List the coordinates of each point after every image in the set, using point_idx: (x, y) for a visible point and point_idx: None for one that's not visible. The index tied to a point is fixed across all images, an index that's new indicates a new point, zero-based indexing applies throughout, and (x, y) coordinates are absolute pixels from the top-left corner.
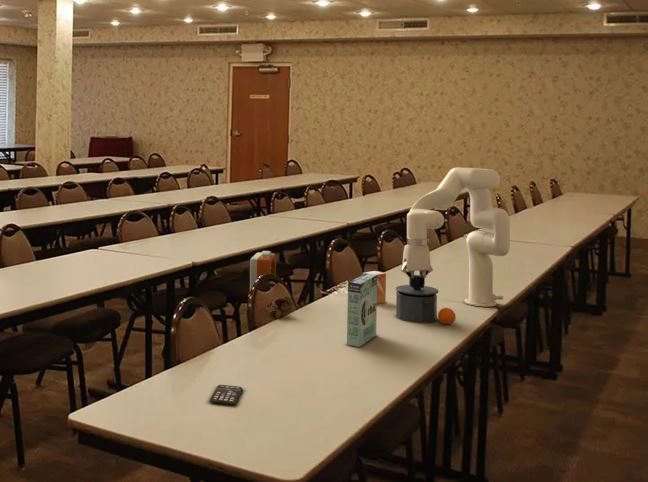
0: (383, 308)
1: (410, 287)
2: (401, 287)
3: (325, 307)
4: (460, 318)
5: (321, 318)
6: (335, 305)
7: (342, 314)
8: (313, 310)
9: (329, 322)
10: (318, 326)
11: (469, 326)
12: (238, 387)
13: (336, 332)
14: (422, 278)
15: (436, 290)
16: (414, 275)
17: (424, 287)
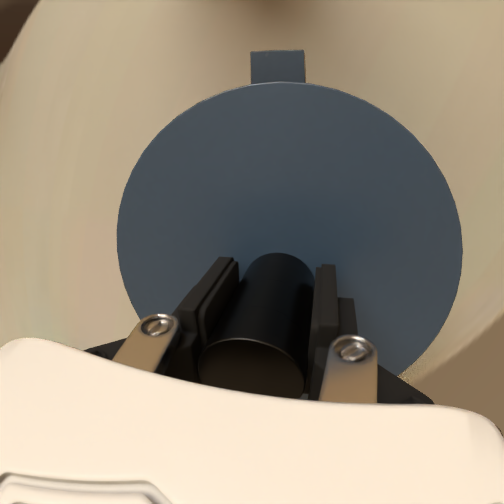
0: (215, 17)
1: (251, 206)
2: (167, 190)
3: (32, 49)
4: (479, 262)
5: (3, 191)
6: (64, 11)
7: (41, 139)
8: (3, 97)
9: (14, 235)
10: (4, 265)
11: (417, 365)
12: None
13: (31, 317)
14: (308, 395)
15: (407, 354)
16: (219, 362)
17: (394, 237)
